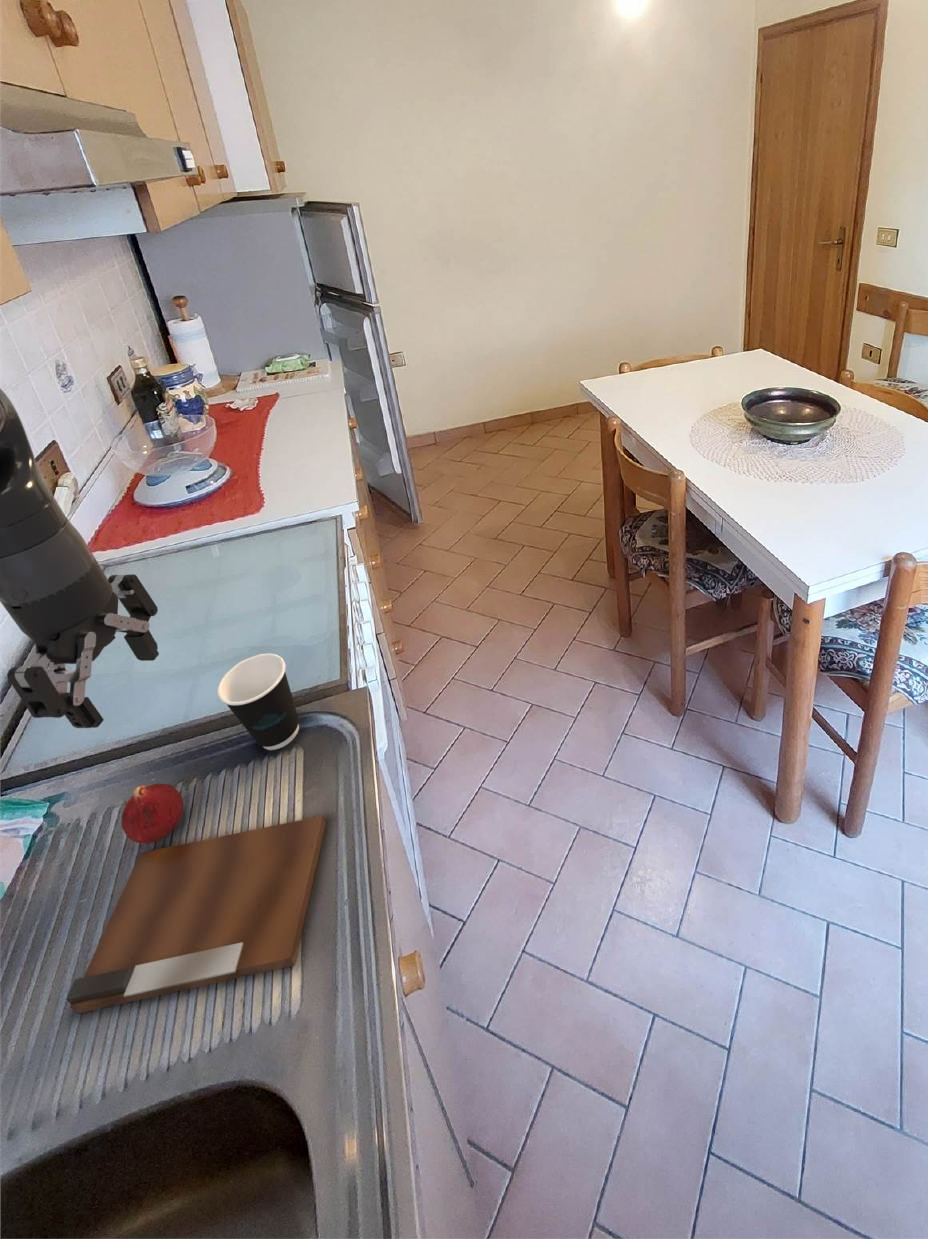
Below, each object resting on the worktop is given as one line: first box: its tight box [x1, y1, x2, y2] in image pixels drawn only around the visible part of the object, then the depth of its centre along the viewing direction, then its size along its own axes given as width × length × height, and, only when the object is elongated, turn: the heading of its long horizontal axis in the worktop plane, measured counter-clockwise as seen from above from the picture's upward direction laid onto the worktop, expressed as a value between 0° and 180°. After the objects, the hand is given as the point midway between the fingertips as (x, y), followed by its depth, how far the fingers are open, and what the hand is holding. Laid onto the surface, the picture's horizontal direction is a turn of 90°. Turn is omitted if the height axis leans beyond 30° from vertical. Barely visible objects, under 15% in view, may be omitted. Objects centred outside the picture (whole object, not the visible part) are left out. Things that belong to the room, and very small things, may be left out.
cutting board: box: [65, 815, 327, 1015], centre depth 66 cm, size 20×14×2 cm
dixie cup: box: [216, 653, 300, 751], centre depth 83 cm, size 8×8×11 cm
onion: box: [121, 783, 185, 845], centre depth 73 cm, size 6×6×8 cm
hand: (122, 690), depth 68 cm, fingers open, 8 cm apart
